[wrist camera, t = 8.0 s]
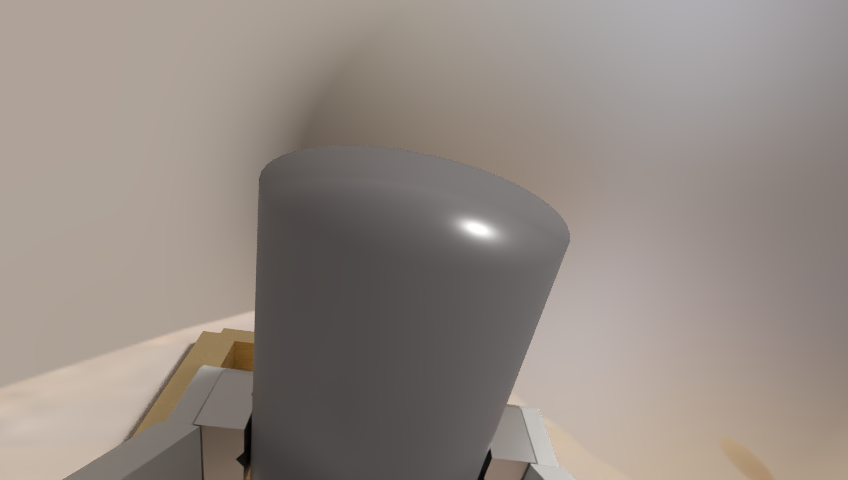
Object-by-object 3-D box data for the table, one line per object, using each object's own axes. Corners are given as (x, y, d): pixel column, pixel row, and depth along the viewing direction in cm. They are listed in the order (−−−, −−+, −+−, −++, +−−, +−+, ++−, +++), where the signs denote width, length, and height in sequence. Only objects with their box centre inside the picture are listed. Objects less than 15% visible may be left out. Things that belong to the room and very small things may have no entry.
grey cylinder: (216, 730, 11) (197, 233, 5) (273, 523, 15) (302, 130, 9) (412, 738, 11) (625, 301, 5) (413, 536, 16) (528, 173, 10)
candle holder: (67, 549, 22) (51, 501, 20) (203, 340, 36) (201, 301, 34) (382, 572, 23) (393, 528, 22) (394, 362, 38) (401, 326, 36)
